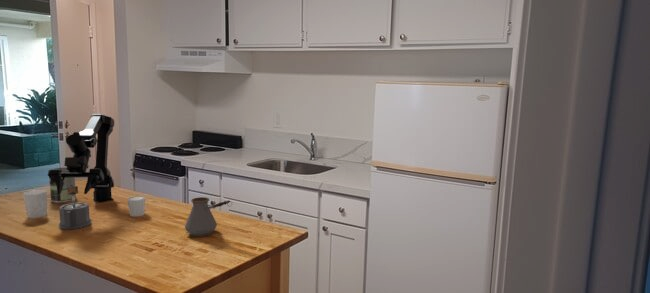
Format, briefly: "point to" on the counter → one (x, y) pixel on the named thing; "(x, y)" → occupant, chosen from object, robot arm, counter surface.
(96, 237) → the counter surface
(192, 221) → the coffee pot
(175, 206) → the counter surface
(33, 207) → the white cup
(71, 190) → the plunger
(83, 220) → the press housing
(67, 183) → the coffee can
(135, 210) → the shot glass
